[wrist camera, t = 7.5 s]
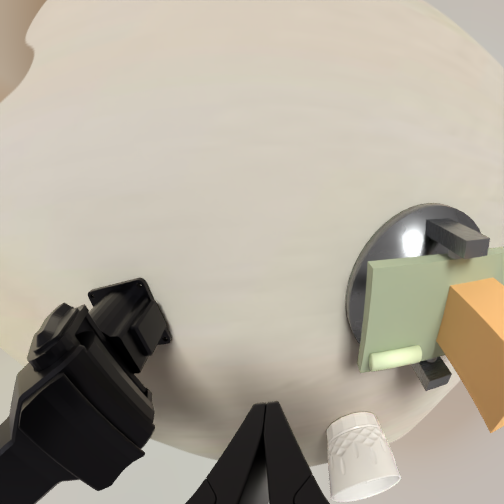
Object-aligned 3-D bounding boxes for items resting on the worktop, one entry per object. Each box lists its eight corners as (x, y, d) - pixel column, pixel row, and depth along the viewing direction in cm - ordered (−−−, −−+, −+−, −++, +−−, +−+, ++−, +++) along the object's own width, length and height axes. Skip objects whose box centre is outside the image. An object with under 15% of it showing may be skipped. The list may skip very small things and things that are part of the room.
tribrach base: (340, 365, 24) (355, 415, 18) (346, 207, 19) (381, 231, 13) (461, 336, 23) (489, 371, 17) (487, 201, 18) (534, 220, 12)
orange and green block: (356, 367, 20) (386, 485, 10) (368, 254, 17) (454, 376, 6) (482, 338, 19) (536, 414, 8) (507, 240, 15) (595, 301, 5)
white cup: (309, 437, 29) (316, 502, 19) (348, 403, 26) (366, 476, 17) (354, 443, 30) (366, 500, 20) (392, 412, 27) (414, 473, 18)
